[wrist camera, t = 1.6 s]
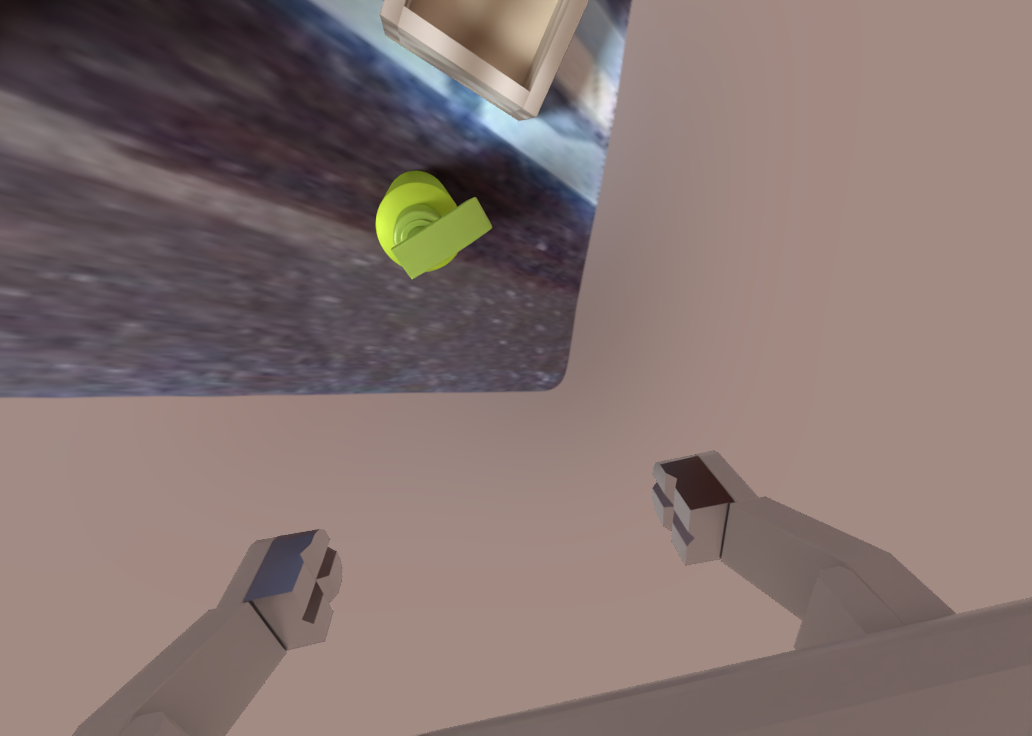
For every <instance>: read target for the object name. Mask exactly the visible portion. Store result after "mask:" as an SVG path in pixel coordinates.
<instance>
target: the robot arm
mask: <svg viewBox="0 0 1032 736" xmlns="http://www.w3.org/2000/svg"><path fill="white" fill-rule="evenodd" d="M653 476H654V477H655V479H656V481H657V483H656V484H655V485H654V487H653V488H652V490H653V491H652V494H653V495H652V497H653V503H654V507H655V511H656V513H657V516H658V518H659V520H660V521H661V523H662V525H663V526H664V527H665V528H667V529H669V530H670V531H672V543H673V545H674V547H675V549H676V550H677V552H678V554H679V556H680V557H681V559H682V561H683V563H684V564H685V565H691V564H697V563H703V562H708V561H713V560H719V559H721V562H723V563H724V564H725V565H727V566H728V567H730V568H731V569H733V570H734V571H735V572H736V573H738V574H739V575H741V576H742V577H743V578H745V579H746V580H747V581H749V582H750V583H752V584H753V585H754V586H756V587H757V588H758V589H760V590H761V591H762V592H764V593H765V594H767V595H768V596H769V597H771V598H772V599H774V600H775V601H776V602H778V603H779V604H780V605H782V606H783V607H785V608H786V609H787V610H789V611H790V612H791V613H793V614H794V615H795V616H797V617H798V618H799V619H801V620H802V622H801V625H800V628H799V631H798V634H797V637H796V641H795V644H794V648H795V649H796V650H794V651H789V652H785V653H781V654H777V655H772V656H768V657H763V658H758V659H754V660H750V661H745V662H740V663H736V664H731V665H727V666H723V667H718V668H713V669H709V670H704V671H700V672H695V673H691V674H686V675H682V676H677V677H673V678H669V679H664V680H660V681H655V682H651V683H646V684H642V685H637V686H633V687H628V688H624V689H619V690H615V691H610V692H606V693H601V694H597V695H592V696H588V697H583V698H579V699H574V700H570V701H565V702H561V703H556V704H552V705H547V706H543V707H538V708H534V709H529V710H525V711H521V712H516V713H512V714H507V715H503V716H498V717H494V718H489V719H485V720H480V721H476V722H471V723H467V724H463V725H458V726H454V727H449V728H445V729H440V730H436V731H431V732H427V733H422V734H419V735H413V736H1032V597H1030V598H1026V599H1021V600H1017V601H1012V602H1008V603H1003V604H999V605H994V606H990V607H985V608H981V609H977V610H972V611H968V612H963V613H959V614H956V613H955V612H954V611H953V610H952V609H951V608H950V607H948V606H947V605H946V604H945V603H944V602H943V601H942V600H941V599H940V598H939V597H938V596H936V595H935V594H934V593H933V592H932V591H931V590H930V589H929V588H928V587H927V586H926V585H924V584H923V583H922V582H921V581H920V580H919V579H918V578H917V577H916V576H915V575H913V574H912V573H911V572H910V571H909V570H908V569H907V568H906V567H905V566H904V565H903V564H901V563H900V562H899V561H898V560H897V559H896V558H895V557H894V556H893V555H892V554H890V553H889V552H886V551H884V550H882V549H879V548H878V547H875V546H873V545H871V544H869V543H866V542H864V541H862V540H860V539H858V538H856V537H853V536H851V535H849V534H847V533H845V532H842V531H840V530H838V529H836V528H834V527H831V526H829V525H827V524H825V523H823V522H820V521H818V520H816V519H814V518H812V517H809V516H807V515H805V514H803V513H801V512H798V511H796V510H794V509H792V508H790V507H787V506H785V505H783V504H781V503H779V502H776V501H774V500H772V499H770V498H768V497H758V496H757V495H756V494H755V493H754V491H753V490H752V489H751V488H750V487H749V486H748V485H747V484H746V482H745V481H744V480H743V479H742V478H741V477H740V476H739V475H738V474H737V473H736V471H735V470H734V469H733V468H732V467H731V466H730V465H729V464H728V463H727V462H726V460H725V459H724V458H722V456H721V455H720V454H719V453H718V452H716V451H714V450H713V451H708V452H704V453H699V454H695V455H690V456H685V457H680V458H675V459H670V460H665V461H661V462H656V463H655V464H654V466H653ZM329 541H330V538H329V536H328V535H327V533H326V531H325V530H322V529H318V530H312V531H306V532H301V533H295V534H289V535H283V536H278V537H274V538H268V539H262V540H257V541H256V542H254V543H253V544H252V545H251V546H250V547H249V549H248V551H247V552H246V554H245V556H244V558H243V560H242V562H241V564H240V565H239V567H238V569H237V571H236V573H235V575H234V576H233V578H232V580H231V582H230V584H229V585H228V587H227V589H226V591H225V593H224V595H223V597H222V598H221V600H220V602H219V604H218V605H217V607H216V608H215V609H211V610H208V611H207V612H206V613H205V614H204V615H203V616H201V617H200V618H199V619H198V620H197V621H196V622H195V623H194V624H192V625H191V626H190V627H189V628H188V629H187V630H186V631H185V632H184V633H182V634H181V635H180V636H179V637H178V638H177V639H176V640H175V641H173V642H172V643H171V644H170V645H169V646H168V647H167V648H166V649H164V650H163V651H162V652H161V653H160V654H159V655H158V656H157V657H156V658H155V659H154V660H152V661H151V662H150V663H149V664H148V665H147V666H145V667H144V668H143V669H142V670H141V671H140V672H139V673H138V674H136V675H135V676H134V677H133V678H132V679H131V680H130V681H129V682H128V683H126V684H125V685H124V686H123V687H122V688H121V689H120V690H119V691H118V692H116V693H115V694H114V695H113V696H112V697H111V698H110V699H109V700H107V701H106V702H105V703H104V704H103V705H102V706H101V707H100V708H98V709H97V710H96V711H95V712H94V713H93V714H92V715H91V716H90V717H88V718H87V719H86V720H85V721H84V722H83V723H82V724H81V725H79V726H78V728H77V729H76V731H75V732H74V734H73V735H72V736H225V735H226V734H227V733H228V731H229V730H230V728H231V727H232V726H233V724H234V723H235V722H236V720H237V719H238V718H239V716H240V715H241V714H242V712H243V711H244V710H245V708H246V707H247V706H248V704H249V703H250V702H251V700H252V699H253V698H254V696H255V695H256V693H257V692H258V691H259V689H260V688H261V687H262V686H263V684H264V683H265V681H266V680H267V679H268V677H269V676H270V675H271V673H272V672H273V671H274V669H275V668H276V667H277V665H278V664H279V663H280V661H281V660H282V659H283V657H284V656H285V655H286V651H287V650H292V649H295V648H299V647H304V646H308V645H312V644H316V643H320V642H325V640H326V636H327V633H328V629H329V626H330V622H331V619H332V615H333V609H332V607H331V606H330V604H329V603H330V602H331V601H332V600H333V599H334V597H335V596H336V595H337V594H338V593H339V590H340V586H341V582H342V564H341V560H340V557H339V555H338V553H337V551H335V550H333V549H331V548H329V547H328V543H329Z"/></svg>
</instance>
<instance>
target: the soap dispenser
mask: <svg viewBox="0 0 1032 736" xmlns="http://www.w3.org/2000/svg"><path fill="white" fill-rule="evenodd" d="M491 228H492V225H491V223H490V221H489V220H488V218H487V216H486V214H485V212H484V210H483V209H482V207H481V205H480V203H479V201H478V200H477V198H476V197H473V198H471V199H469V200H467V201H465V202H464V203H462V204H461V205H459V206H458V207H457V205H456V204H455V202H454V201H453V199H452V198H451V196H450V195H449V193H448V192H447V191H446V189H445V188H444V186H443V185H442V184H441V182H440V181H439V180H438V179H437V178H435V177H434V176H432V175H431V174H428V173H426V172H422V171H409V172H406V173H403V174H401V175H400V176H398V177H397V178H396V179H395V180H394V181H393V183H392V184H391V186H390V188H389V189H388V191H387V193H386V195H385V197H384V198H383V200H382V202H381V204H380V206H379V209H378V212H377V216H376V231H377V236H378V239H379V242H380V244H381V246H382V248H383V249H384V251H385V252H386V253H387V255H388V256H389V257H390V258H391V259H392V260H393V261H395V262H396V263H397V264H399V265H401V266H402V267H403V268H404V269H405V271H406V272H407V273H408V275H409V276H410V277H411V279H414V278H415V277H417V276H419V275H420V274H422V273H424V272H425V271H433V270H436V269H439V268H441V267H443V266H445V265H446V264H448V263H449V262H450V261H451V260H452V259H453V258H454V257H455V256H456V254H457V253H458V251H460V250H462V249H463V248H465V247H466V246H468V245H469V244H471V243H472V242H473V241H475V240H476V239H478V238H479V237H481V236H482V235H483V234H485V233H486V232H488V231H489V230H490V229H491Z"/></svg>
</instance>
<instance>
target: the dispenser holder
mask: <svg viewBox="0 0 1032 736" xmlns="http://www.w3.org/2000/svg"><path fill="white" fill-rule="evenodd" d="M588 1H589V0H384V3H383V6H382V9H381V13H380V16H381V20H382V24H383V28H384V31H385V35H386V36H387V37H389V38H390V39H392V40H394V41H395V42H397V43H398V44H400V45H401V46H403V47H404V48H406V49H408V50H409V51H411V52H412V53H414V54H415V55H417V56H419V57H420V58H422V59H423V60H425V61H426V62H428V63H429V64H431V65H433V66H434V67H436V68H437V69H439V70H440V71H442V72H443V73H445V74H447V75H448V76H450V77H451V78H453V79H454V80H456V81H458V82H459V83H461V84H462V85H464V86H465V87H467V88H468V89H470V90H472V91H473V92H475V93H476V94H478V95H479V96H481V97H482V98H484V99H486V100H487V101H489V102H490V103H492V104H493V105H495V106H497V107H498V108H500V109H501V110H503V111H504V112H506V113H507V114H509V115H511V116H512V117H514V118H515V119H517V120H518V121H520V120H525V119H529V118H534V117H536V116H537V114H538V112H539V110H540V107H541V105H542V103H543V101H544V99H545V96H546V94H547V92H548V90H549V88H550V85H551V83H552V81H553V79H554V77H555V74H556V72H557V70H558V68H559V65H560V63H561V61H562V59H563V57H564V54H565V52H566V50H567V48H568V46H569V43H570V41H571V39H572V37H573V35H574V32H575V30H576V28H577V26H578V23H579V21H580V19H581V17H582V15H583V12H584V10H585V8H586V6H587V4H588Z"/></svg>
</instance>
